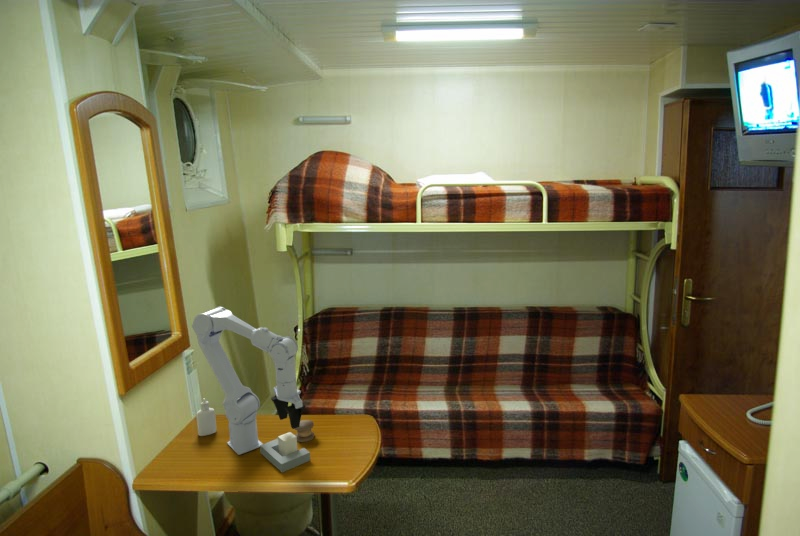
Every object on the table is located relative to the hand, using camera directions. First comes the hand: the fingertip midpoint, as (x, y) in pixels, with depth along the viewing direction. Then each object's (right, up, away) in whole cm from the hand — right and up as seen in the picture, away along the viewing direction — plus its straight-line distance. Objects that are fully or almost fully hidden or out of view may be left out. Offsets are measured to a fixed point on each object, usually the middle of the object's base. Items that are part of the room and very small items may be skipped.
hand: (289, 423), depth 144 cm
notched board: (-1, -10, -1) cm, 10 cm away
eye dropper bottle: (-30, -8, +15) cm, 35 cm away
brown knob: (+3, -8, +10) cm, 13 cm away
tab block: (0, -10, 0) cm, 10 cm away
